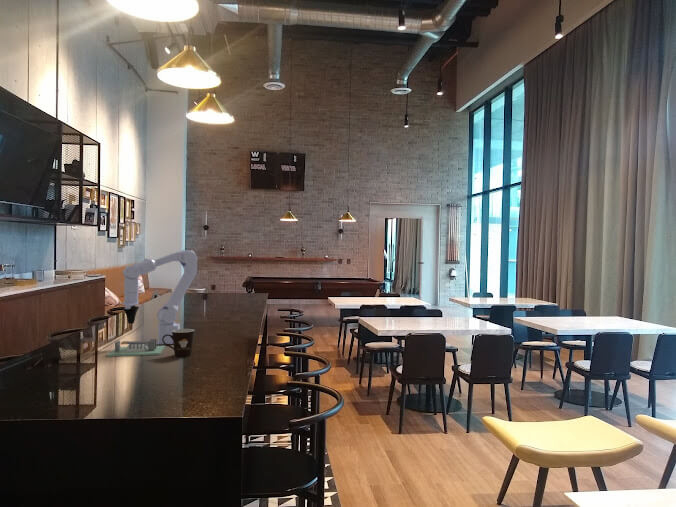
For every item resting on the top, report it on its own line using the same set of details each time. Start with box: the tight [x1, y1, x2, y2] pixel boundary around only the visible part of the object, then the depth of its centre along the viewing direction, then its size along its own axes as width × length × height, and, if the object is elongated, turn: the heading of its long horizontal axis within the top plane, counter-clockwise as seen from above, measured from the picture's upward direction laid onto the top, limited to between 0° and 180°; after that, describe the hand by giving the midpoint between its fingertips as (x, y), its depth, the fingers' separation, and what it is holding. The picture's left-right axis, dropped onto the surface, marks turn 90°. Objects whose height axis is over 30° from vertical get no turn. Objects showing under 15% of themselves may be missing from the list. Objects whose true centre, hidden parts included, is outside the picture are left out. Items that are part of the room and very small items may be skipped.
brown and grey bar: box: [120, 340, 155, 345], centre depth 199 cm, size 13×4×2 cm, turn 102°
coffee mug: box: [162, 328, 195, 358], centre depth 193 cm, size 12×9×10 cm
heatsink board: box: [106, 338, 166, 358], centre depth 199 cm, size 20×15×5 cm
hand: (131, 323), depth 209 cm, fingers closed
